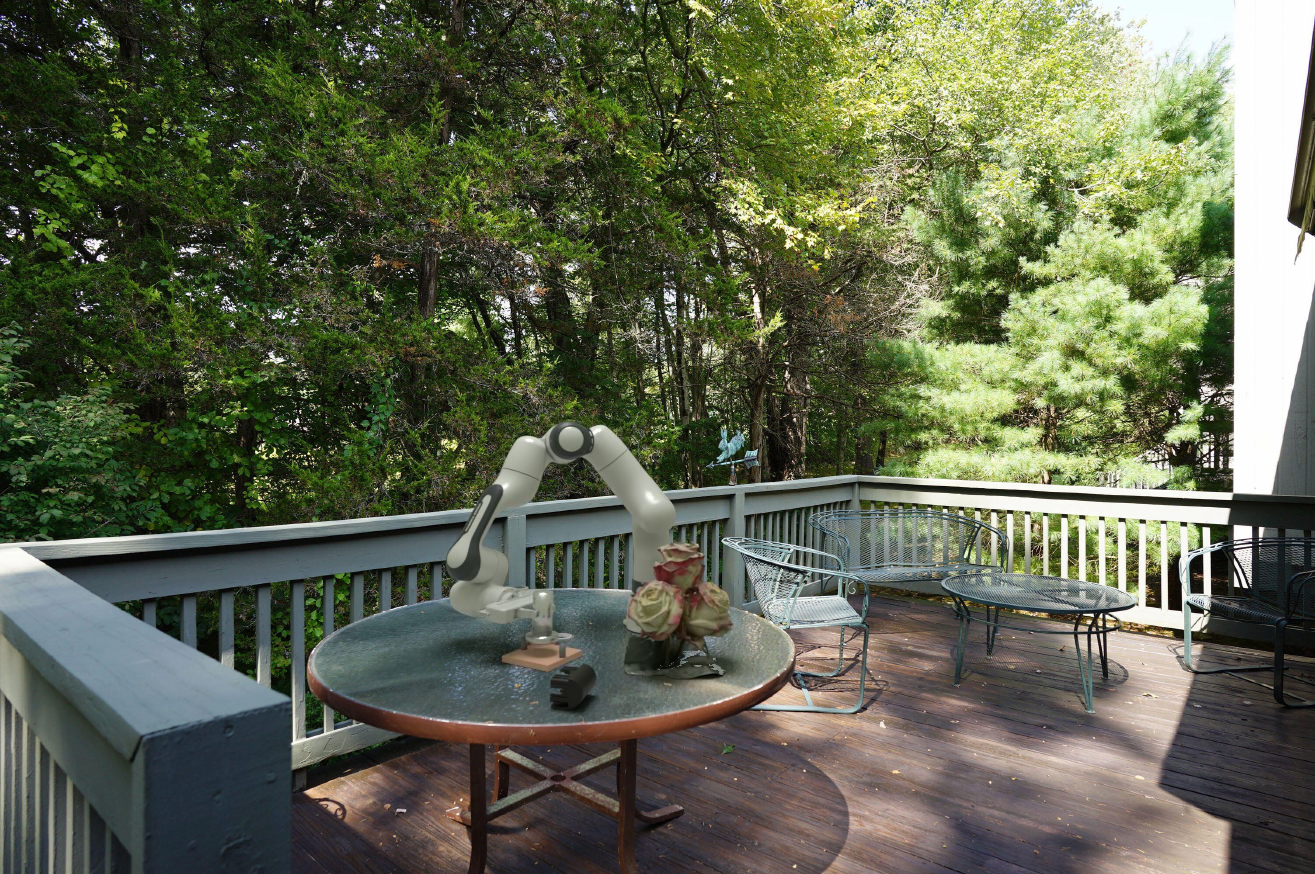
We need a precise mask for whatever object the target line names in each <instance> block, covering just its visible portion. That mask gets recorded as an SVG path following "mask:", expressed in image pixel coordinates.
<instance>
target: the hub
mask: <svg viewBox="0 0 1315 874" xmlns="http://www.w3.org/2000/svg"><path fill="white" fill-rule="evenodd" d="M535 590H536V589H535ZM553 597H554V591H553V590H550V589H537V590H536V591H533V609H535V610H539V617H537V618H531V619H532V621H531V630H530V631H528V632H526V633H525V636H526V642H527V644H529V645H531V644H533V645H548V644H553V645H554V644H555V643H557V642H558V641H559V632H557V631H556V630H553V620H554V619H553V616H554V612H553V605H554V604H553ZM533 609H532V610H533Z"/></svg>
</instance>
